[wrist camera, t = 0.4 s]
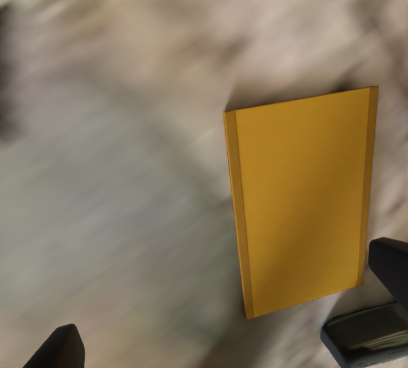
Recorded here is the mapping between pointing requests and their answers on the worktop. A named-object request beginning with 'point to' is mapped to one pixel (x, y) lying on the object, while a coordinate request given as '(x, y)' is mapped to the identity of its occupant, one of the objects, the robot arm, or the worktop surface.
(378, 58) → the worktop surface
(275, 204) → the yellow flat slab
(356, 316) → the mobile phone
